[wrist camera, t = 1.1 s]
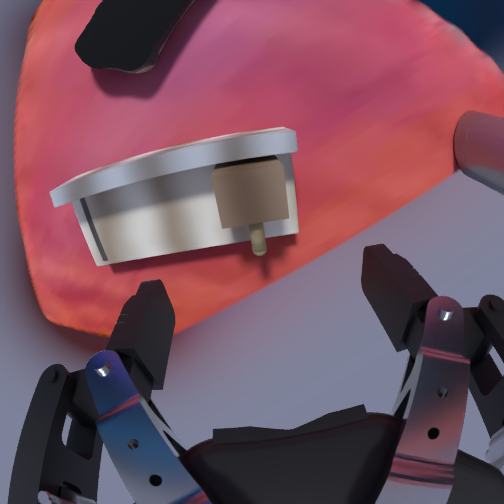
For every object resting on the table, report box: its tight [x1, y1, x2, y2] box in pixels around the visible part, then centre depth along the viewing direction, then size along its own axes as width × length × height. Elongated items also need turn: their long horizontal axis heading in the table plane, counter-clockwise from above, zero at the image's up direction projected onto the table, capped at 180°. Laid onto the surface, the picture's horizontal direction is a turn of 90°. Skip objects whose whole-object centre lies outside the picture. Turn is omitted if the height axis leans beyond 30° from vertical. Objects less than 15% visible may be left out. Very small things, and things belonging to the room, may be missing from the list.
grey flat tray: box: [50, 127, 299, 266], centre depth 24 cm, size 22×10×6 cm, turn 99°
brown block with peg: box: [211, 155, 289, 256], centre depth 22 cm, size 5×8×5 cm, turn 9°
